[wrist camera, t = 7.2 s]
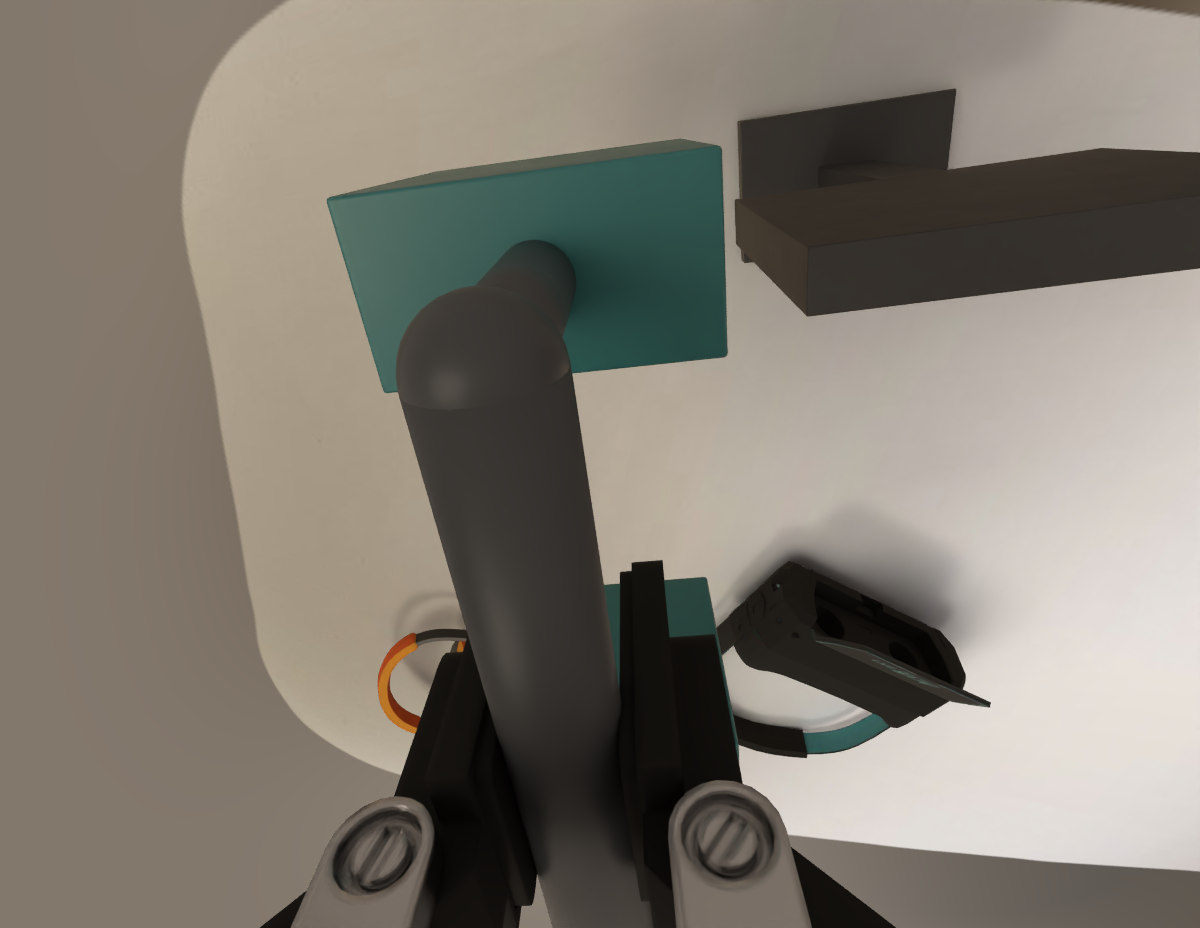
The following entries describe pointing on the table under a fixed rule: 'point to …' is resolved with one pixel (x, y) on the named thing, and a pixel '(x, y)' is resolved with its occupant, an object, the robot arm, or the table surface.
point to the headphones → (399, 652)
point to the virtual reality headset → (840, 659)
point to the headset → (542, 443)
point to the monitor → (947, 210)
